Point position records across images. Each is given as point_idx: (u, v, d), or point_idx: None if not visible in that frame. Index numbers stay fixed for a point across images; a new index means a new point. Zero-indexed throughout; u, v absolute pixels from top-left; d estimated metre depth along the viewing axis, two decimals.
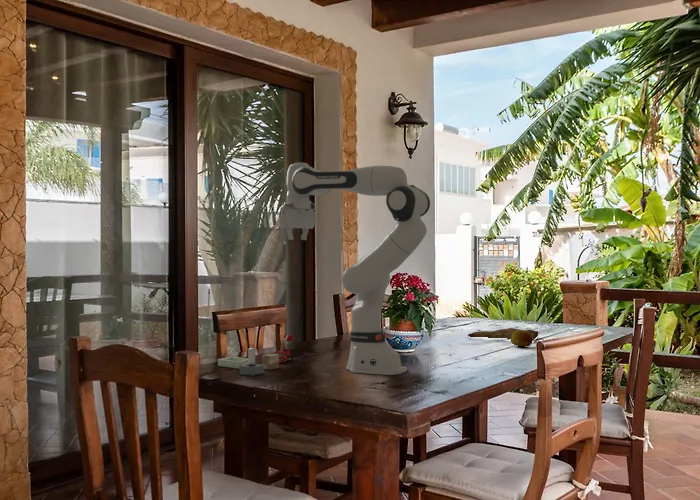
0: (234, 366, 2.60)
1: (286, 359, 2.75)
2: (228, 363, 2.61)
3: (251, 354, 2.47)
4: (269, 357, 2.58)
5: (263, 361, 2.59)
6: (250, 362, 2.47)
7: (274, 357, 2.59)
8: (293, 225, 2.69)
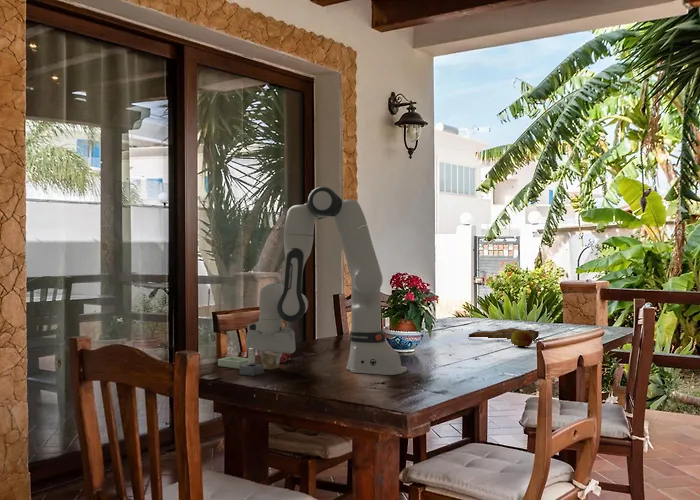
0: (234, 366, 2.60)
1: (286, 359, 2.75)
2: (228, 363, 2.61)
3: (251, 354, 2.47)
4: (269, 357, 2.58)
5: (263, 361, 2.59)
6: (250, 362, 2.47)
7: (274, 357, 2.59)
8: None
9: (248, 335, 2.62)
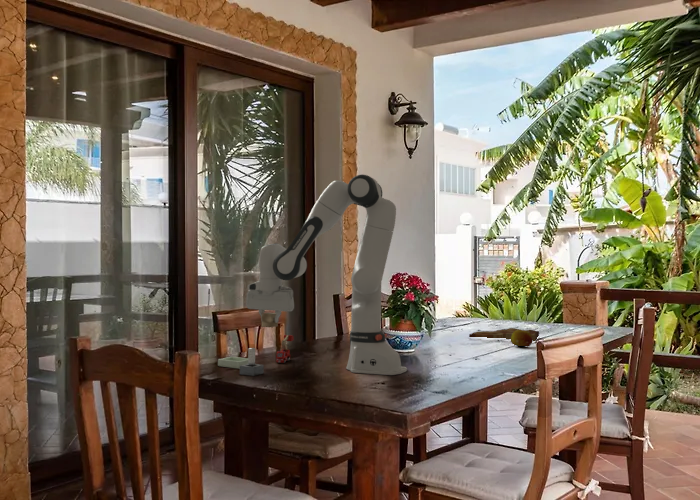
0: (234, 366, 2.60)
1: (286, 359, 2.75)
2: (228, 363, 2.61)
3: (251, 354, 2.47)
4: (268, 315, 2.65)
5: (263, 319, 2.67)
6: (250, 362, 2.47)
7: (273, 315, 2.67)
8: None
9: (248, 295, 2.70)
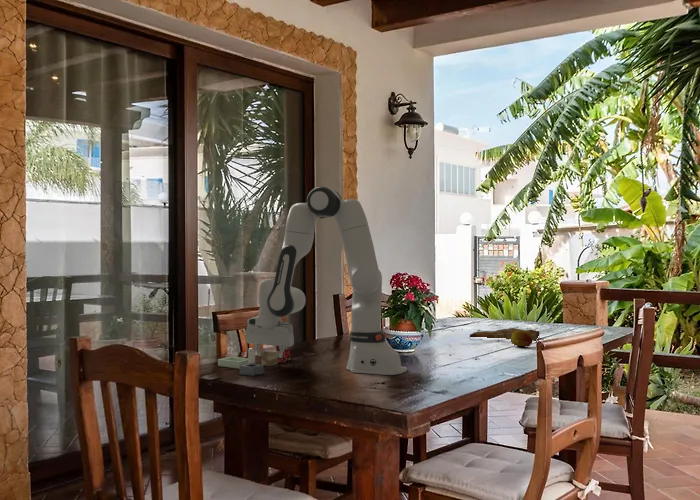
0: (234, 366, 2.60)
1: (286, 359, 2.75)
2: (228, 363, 2.61)
3: (251, 354, 2.47)
4: (268, 354, 2.66)
5: (262, 357, 2.67)
6: (250, 362, 2.47)
7: (273, 354, 2.67)
8: None
9: (248, 329, 2.70)
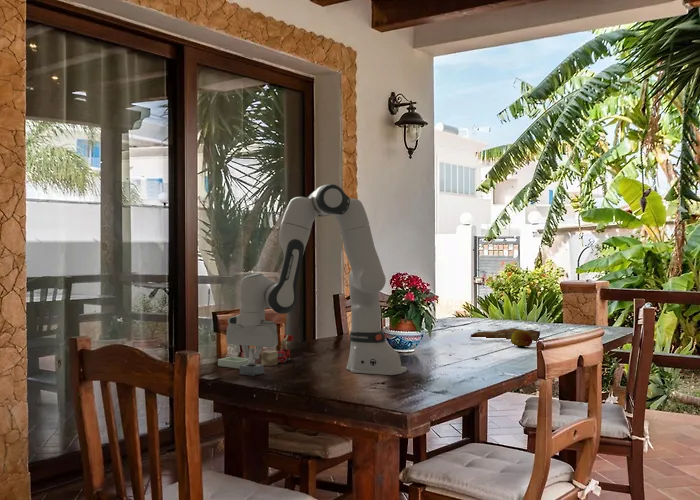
0: (234, 366, 2.60)
1: (286, 359, 2.75)
2: (228, 363, 2.61)
3: (251, 354, 2.47)
4: (268, 354, 2.66)
5: (262, 358, 2.67)
6: (250, 362, 2.47)
7: (273, 354, 2.67)
8: None
9: (228, 329, 2.50)
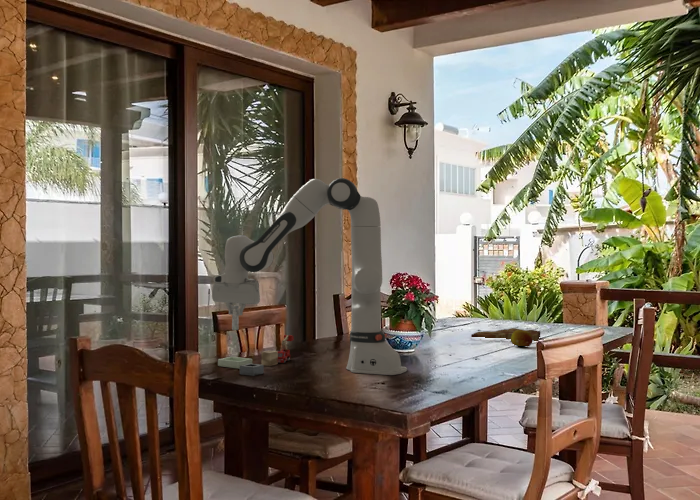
0: (234, 366, 2.60)
1: (286, 359, 2.75)
2: (228, 363, 2.61)
3: (235, 311, 2.63)
4: (268, 354, 2.66)
5: (262, 358, 2.67)
6: (234, 319, 2.63)
7: (273, 354, 2.67)
8: None
9: (214, 287, 2.66)
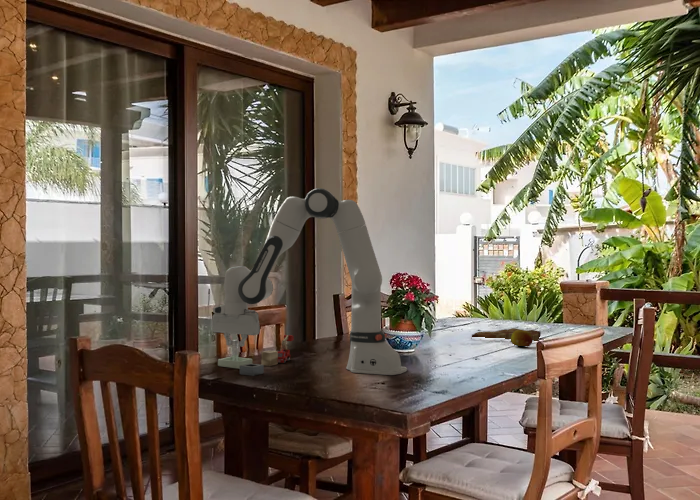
0: (234, 366, 2.60)
1: (286, 359, 2.75)
2: (228, 363, 2.61)
3: (235, 345, 2.63)
4: (268, 354, 2.66)
5: (262, 357, 2.67)
6: (234, 353, 2.63)
7: (273, 354, 2.67)
8: None
9: (214, 318, 2.66)
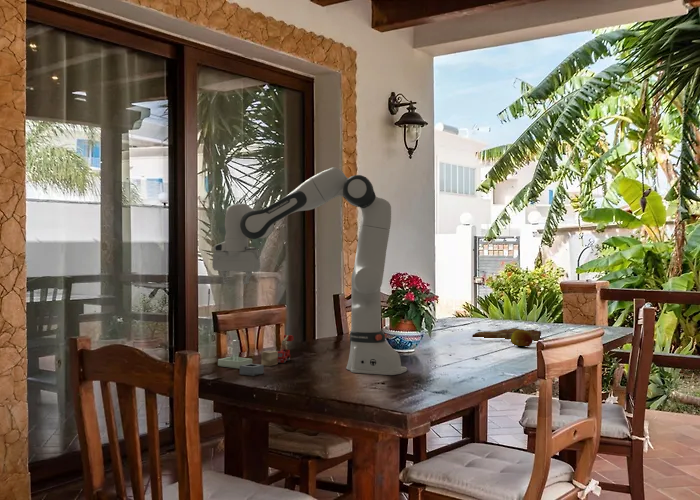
0: (234, 366, 2.60)
1: (286, 359, 2.75)
2: (228, 363, 2.61)
3: (235, 345, 2.63)
4: (268, 354, 2.66)
5: (262, 357, 2.67)
6: (234, 353, 2.63)
7: (273, 354, 2.67)
8: None
9: (214, 256, 2.66)
